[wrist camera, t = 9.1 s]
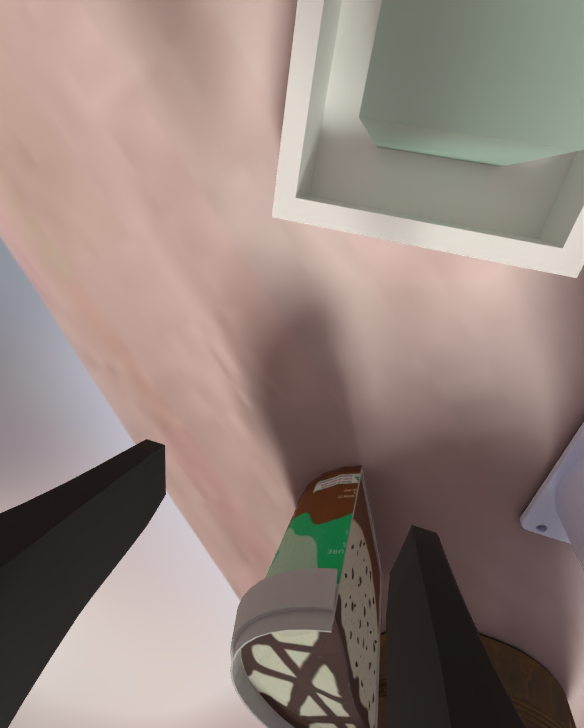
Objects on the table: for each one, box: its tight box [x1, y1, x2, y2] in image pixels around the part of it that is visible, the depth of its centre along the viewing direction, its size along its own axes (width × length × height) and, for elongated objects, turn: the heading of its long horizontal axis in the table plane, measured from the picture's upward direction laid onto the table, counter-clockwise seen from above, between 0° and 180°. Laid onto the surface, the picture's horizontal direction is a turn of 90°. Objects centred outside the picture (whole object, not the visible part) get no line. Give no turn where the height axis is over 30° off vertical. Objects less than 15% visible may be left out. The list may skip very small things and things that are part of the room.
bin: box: [272, 0, 584, 278], centre depth 12 cm, size 11×11×4 cm
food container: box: [230, 466, 382, 728], centre depth 20 cm, size 12×6×10 cm, turn 14°
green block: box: [359, 0, 584, 166], centre depth 10 cm, size 4×4×7 cm
